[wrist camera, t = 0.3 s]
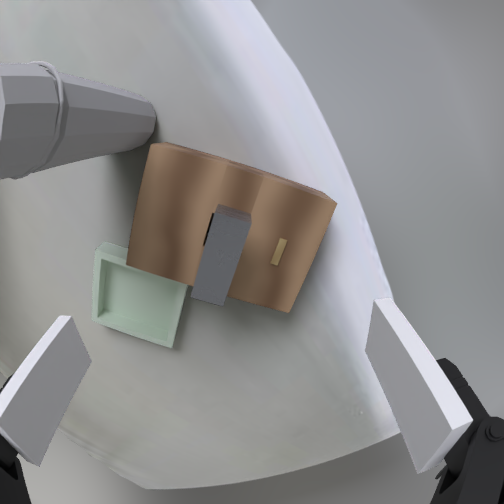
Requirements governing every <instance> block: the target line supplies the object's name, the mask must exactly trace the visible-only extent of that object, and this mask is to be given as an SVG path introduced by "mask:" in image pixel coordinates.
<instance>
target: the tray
mask: <svg viewBox="0 0 504 504" xmlns="http://www.w3.org/2000/svg"><path fill="white" fill-rule="evenodd" d="M127 253H128V249H127V248H124V247H121V246H118V245H115V244H112V243H109V242H106V241H105V242H104V243H103V244H101V245H100V246H99V247H98V248H97V249H96V250H95V261H94V273H93V289H92V321H94V322H96V323H99V324H102V325H104V326H107V327H110V328H112V329H115V330H118V331H121V332H123V333H126V334H129V335H132V336H135V337H138V338H141V339H144V340H147V341H150V342H153V343H156V344H159V345H162V346H166V347H169V348H172V346H173V343H174V340H175V336H176V332H177V328H178V324H179V320H180V316H181V312H182V308H183V304H184V300H185V296H186V292H187V288H188V285H187V284H184V283H180V282H177V281H174V280H171V279H168V278H164V277H161V276H158V275H155V274H152V273H149V272H146V271H142V270H139V269H136V268H133V267H130V266H127V265H126V260H127Z"/></svg>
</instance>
